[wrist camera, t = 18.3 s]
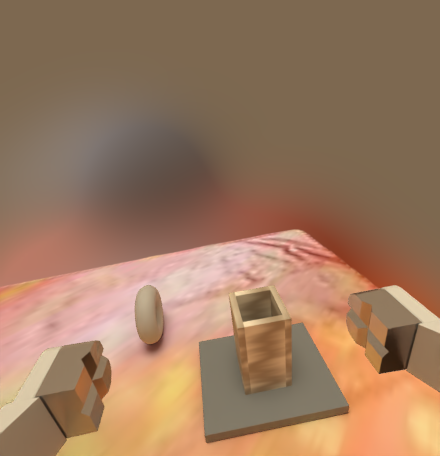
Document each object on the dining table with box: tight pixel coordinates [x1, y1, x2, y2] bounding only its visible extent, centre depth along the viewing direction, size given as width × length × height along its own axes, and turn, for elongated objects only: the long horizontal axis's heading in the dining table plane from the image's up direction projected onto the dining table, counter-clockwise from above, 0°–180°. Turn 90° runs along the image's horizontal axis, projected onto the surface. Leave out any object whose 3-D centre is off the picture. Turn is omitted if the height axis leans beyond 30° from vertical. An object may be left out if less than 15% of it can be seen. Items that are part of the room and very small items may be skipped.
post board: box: [199, 323, 349, 443], centre depth 37 cm, size 18×14×10 cm
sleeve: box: [229, 285, 292, 395], centre depth 36 cm, size 6×6×12 cm
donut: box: [135, 285, 163, 344], centre depth 46 cm, size 10×4×10 cm, turn 8°
